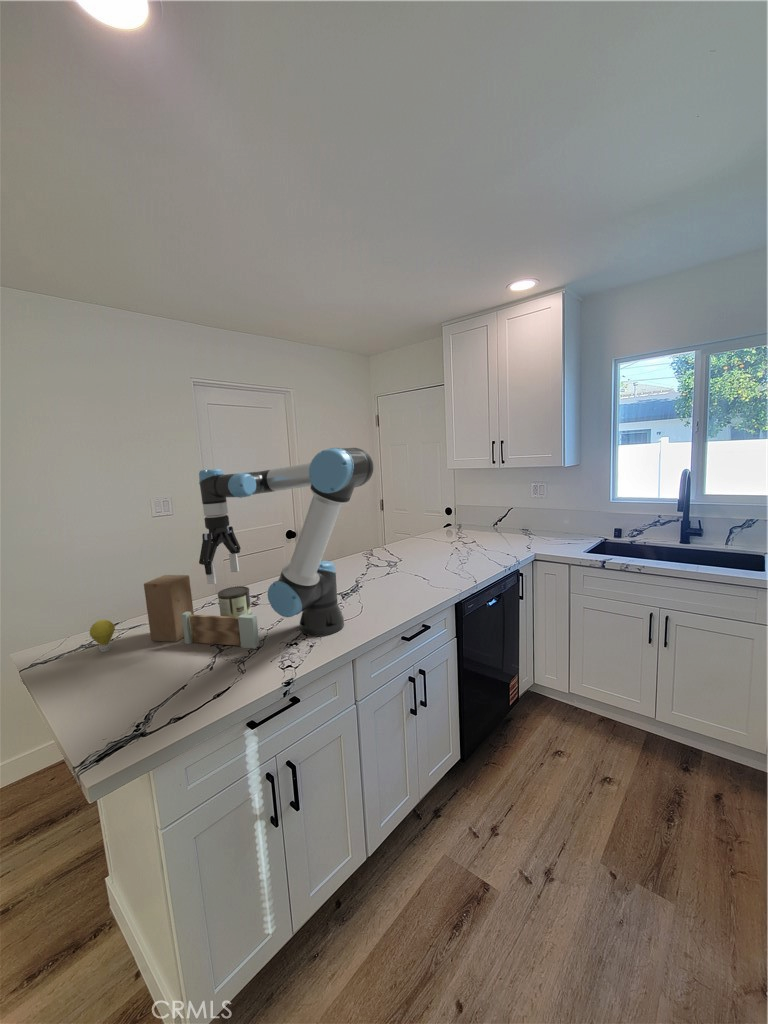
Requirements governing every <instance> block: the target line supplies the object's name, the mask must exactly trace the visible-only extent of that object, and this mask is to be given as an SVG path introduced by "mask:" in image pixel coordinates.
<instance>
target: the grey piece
mask: <svg viewBox="0 0 768 1024" xmlns="http://www.w3.org/2000/svg"><path fill="white" fill-rule="evenodd" d="M181 615H182V623H183V632H184V638H183V639H184V644H185V645H186V644H187V645H189V644H192V643H193V642H192V635H191V627H190V619H189V615H191V612H185V613H183V614H181ZM238 623H239V632H240V642H241V645H240V648H242V649H243V648H244V649H257V648H258V647H259V646H260V638H259V628H258V616H257V614H251V615H247V614H242V615H240V616H239V617H238Z"/></svg>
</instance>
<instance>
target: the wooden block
mask: <svg viewBox="0 0 768 1024" xmlns="http://www.w3.org/2000/svg"><path fill="white" fill-rule="evenodd" d="M191 587H192V586H191V579H190V575H188V574H163V575H161V576H159V577H156V578H154V579H152V580H149V581H147V582H144V583H143V589H144V597H145V603H146V611H147V617H148V618H147V619H148V625H149V634H150V640H151V641H152V642H171V643H178V642H179V641H181V640H182V639H184V632H183V623H182V615H181V614H183V613H185V612H191V615H195V614H194V612H195V611H194V604H193V596H192V595H193V594H192V588H191Z"/></svg>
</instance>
